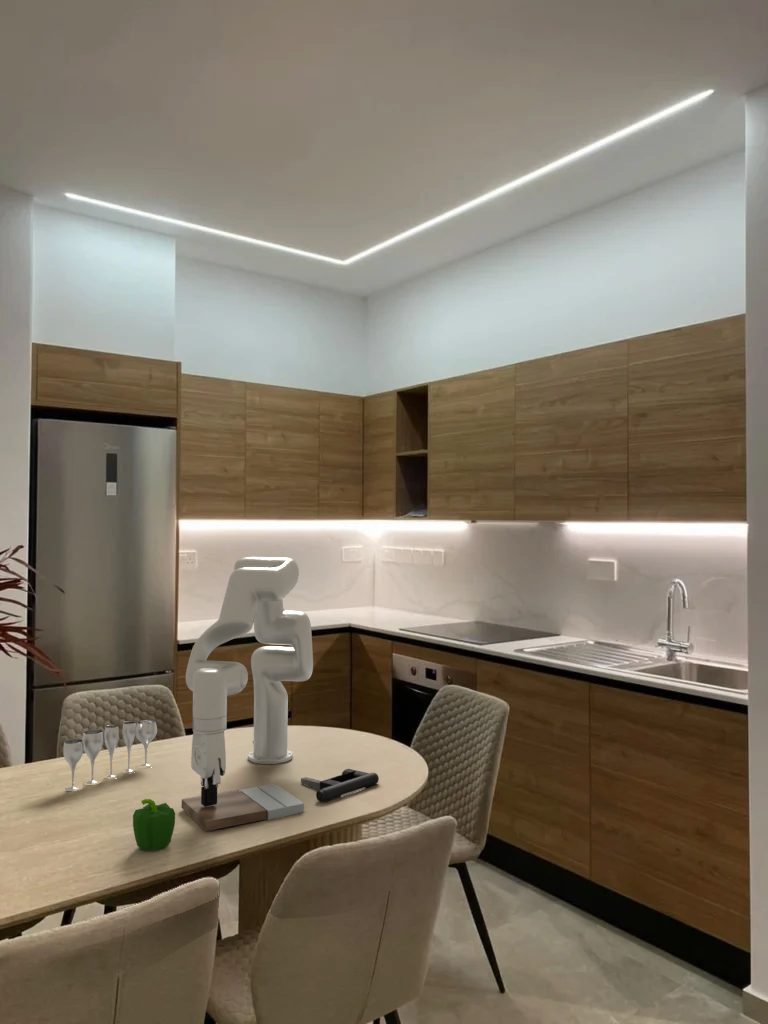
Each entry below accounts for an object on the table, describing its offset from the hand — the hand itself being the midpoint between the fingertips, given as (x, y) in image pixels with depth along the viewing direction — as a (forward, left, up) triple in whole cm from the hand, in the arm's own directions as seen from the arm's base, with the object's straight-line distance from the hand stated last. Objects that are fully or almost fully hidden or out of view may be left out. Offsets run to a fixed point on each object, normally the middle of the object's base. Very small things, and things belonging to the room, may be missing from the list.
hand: (209, 804), depth 176 cm
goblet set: (-41, -11, -3) cm, 42 cm away
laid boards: (0, +15, -3) cm, 16 cm away
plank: (0, +3, -3) cm, 4 cm away
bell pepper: (+9, -15, -3) cm, 18 cm away
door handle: (-3, +34, -4) cm, 35 cm away
